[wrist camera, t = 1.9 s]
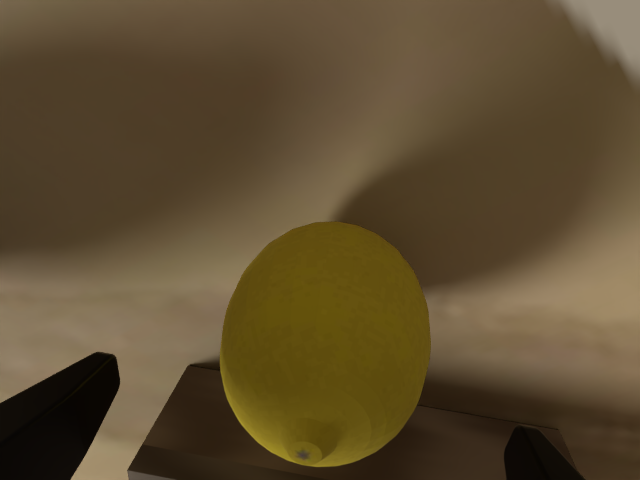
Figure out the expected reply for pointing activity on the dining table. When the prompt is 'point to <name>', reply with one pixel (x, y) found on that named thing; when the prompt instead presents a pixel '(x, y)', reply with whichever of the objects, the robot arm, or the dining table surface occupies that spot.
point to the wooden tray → (285, 476)
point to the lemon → (325, 344)
